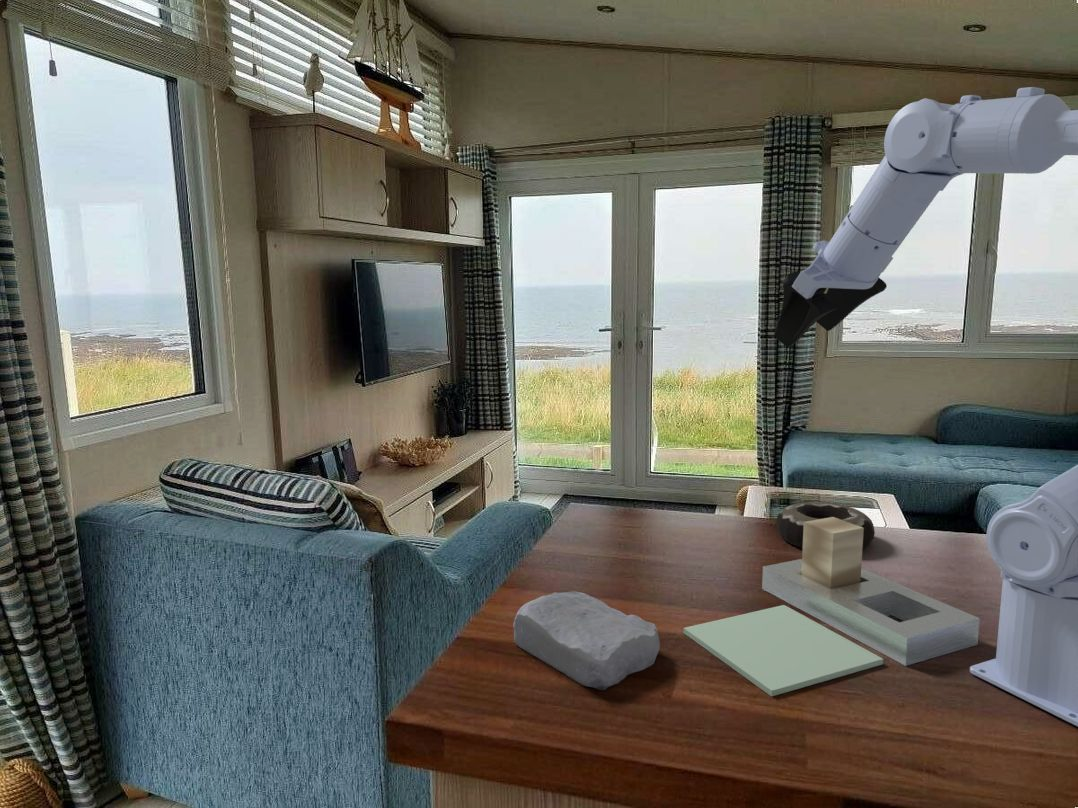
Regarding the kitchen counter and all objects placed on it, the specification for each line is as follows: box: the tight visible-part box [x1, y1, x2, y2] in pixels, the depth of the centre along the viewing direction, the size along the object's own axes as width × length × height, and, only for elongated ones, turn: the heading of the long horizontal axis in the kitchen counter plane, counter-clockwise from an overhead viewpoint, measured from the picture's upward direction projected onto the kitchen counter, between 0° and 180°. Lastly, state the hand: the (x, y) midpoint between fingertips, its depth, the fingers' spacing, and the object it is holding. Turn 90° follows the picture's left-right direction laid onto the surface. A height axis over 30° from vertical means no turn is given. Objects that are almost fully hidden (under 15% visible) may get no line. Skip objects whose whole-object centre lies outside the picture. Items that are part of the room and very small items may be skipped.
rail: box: [761, 558, 981, 667], centre depth 72 cm, size 18×9×2 cm, turn 24°
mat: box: [683, 604, 884, 697], centre depth 66 cm, size 12×12×1 cm
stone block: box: [512, 590, 661, 691], centre depth 66 cm, size 12×5×10 cm
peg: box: [801, 517, 864, 589], centre depth 75 cm, size 4×4×8 cm
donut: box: [775, 501, 876, 550], centre depth 93 cm, size 12×12×4 cm
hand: (802, 332), depth 80 cm, fingers open, 7 cm apart
